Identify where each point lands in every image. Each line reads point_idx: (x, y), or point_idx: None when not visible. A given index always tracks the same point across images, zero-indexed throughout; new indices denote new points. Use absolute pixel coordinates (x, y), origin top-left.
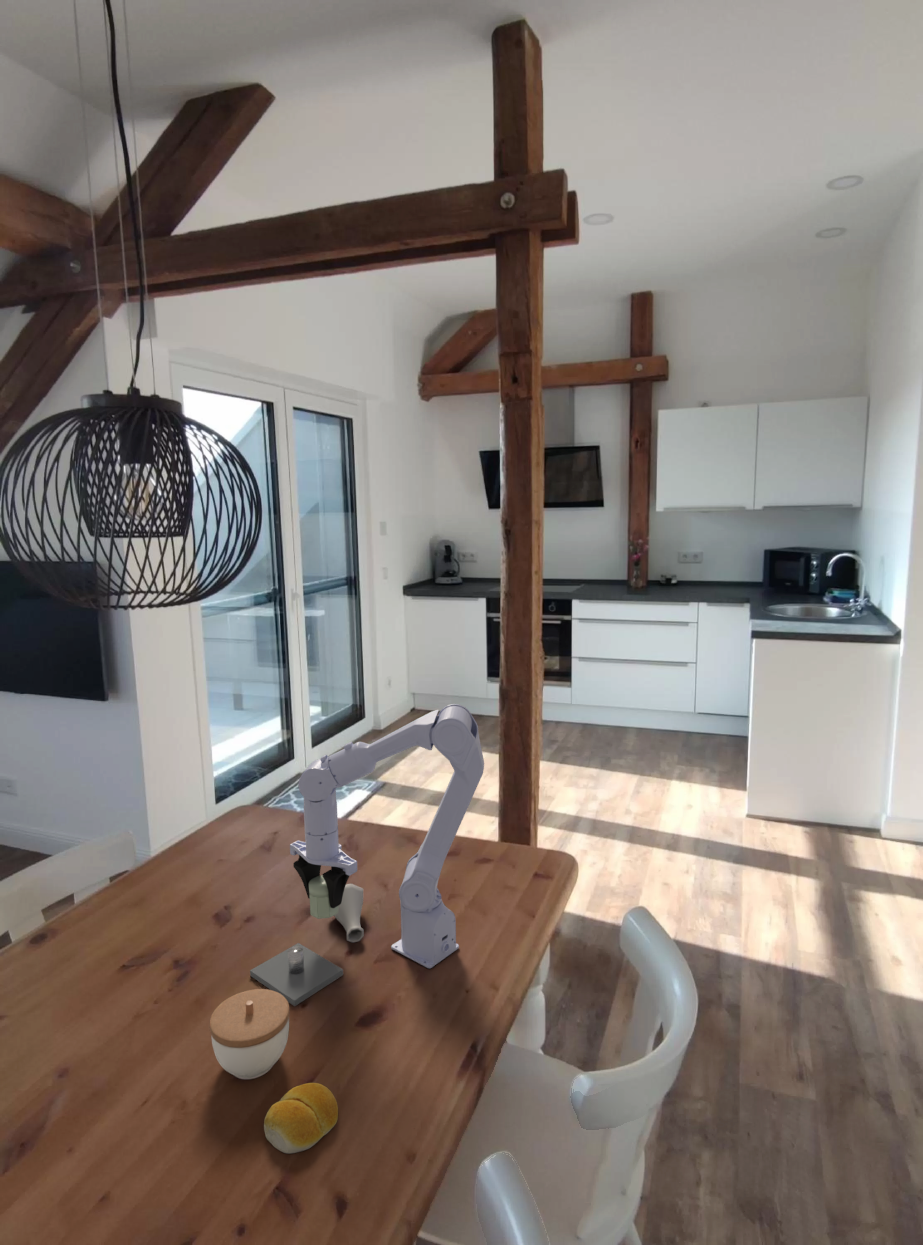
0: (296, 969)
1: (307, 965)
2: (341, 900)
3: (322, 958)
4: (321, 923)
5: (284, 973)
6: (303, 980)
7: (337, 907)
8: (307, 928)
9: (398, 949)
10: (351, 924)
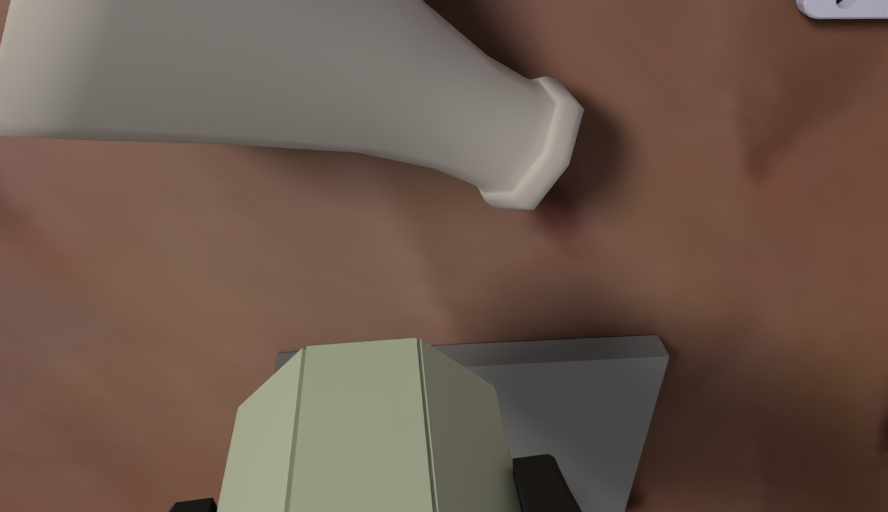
0: None
1: None
2: (566, 485)
3: (508, 371)
4: None
5: None
6: None
7: (504, 432)
8: (107, 218)
9: (878, 8)
10: (485, 166)
